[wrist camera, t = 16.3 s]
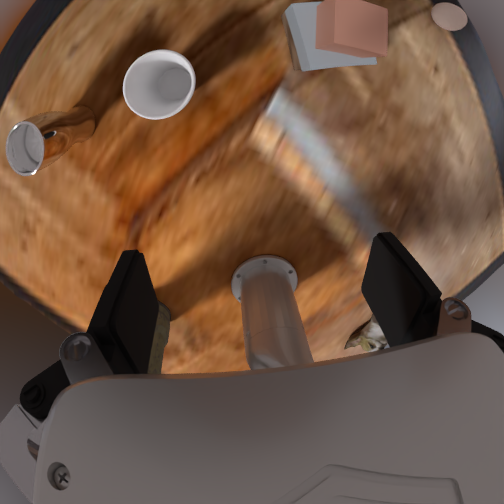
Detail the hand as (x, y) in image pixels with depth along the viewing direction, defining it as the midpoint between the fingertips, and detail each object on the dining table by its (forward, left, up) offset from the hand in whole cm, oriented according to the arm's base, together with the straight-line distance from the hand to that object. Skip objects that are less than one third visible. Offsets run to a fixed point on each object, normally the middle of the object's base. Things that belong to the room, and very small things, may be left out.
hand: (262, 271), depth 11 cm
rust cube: (+15, -12, -24) cm, 31 cm away
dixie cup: (+8, +8, -32) cm, 34 cm away
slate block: (+14, -12, -28) cm, 34 cm away
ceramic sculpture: (-46, -31, -33) cm, 65 cm away
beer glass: (+5, +24, -32) cm, 41 cm away
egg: (+25, -35, -32) cm, 54 cm away
